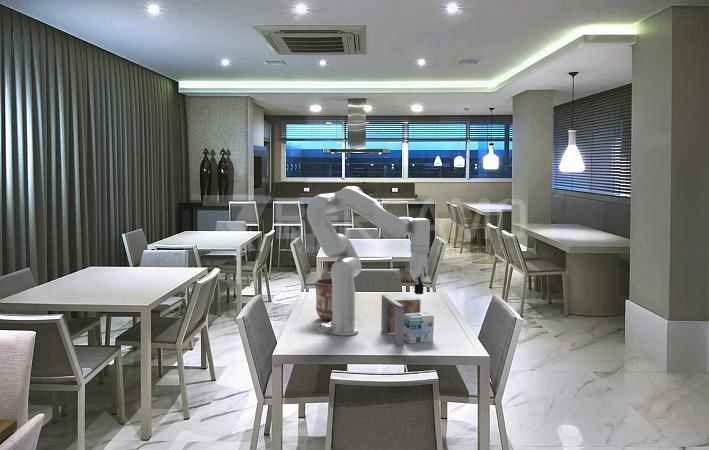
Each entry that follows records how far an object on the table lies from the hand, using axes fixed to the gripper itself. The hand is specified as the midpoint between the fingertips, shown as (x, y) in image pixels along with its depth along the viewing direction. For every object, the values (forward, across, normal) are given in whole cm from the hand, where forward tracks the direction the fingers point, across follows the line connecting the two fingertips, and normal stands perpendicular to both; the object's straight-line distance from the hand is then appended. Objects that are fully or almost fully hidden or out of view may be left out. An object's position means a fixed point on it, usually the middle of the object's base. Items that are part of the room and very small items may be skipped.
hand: (418, 293), depth 247 cm
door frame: (+19, -4, -10) cm, 22 cm away
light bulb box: (+19, +1, 0) cm, 19 cm away
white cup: (+19, -32, +7) cm, 38 cm away
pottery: (+19, -39, -28) cm, 52 cm away
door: (+19, -11, -3) cm, 22 cm away
